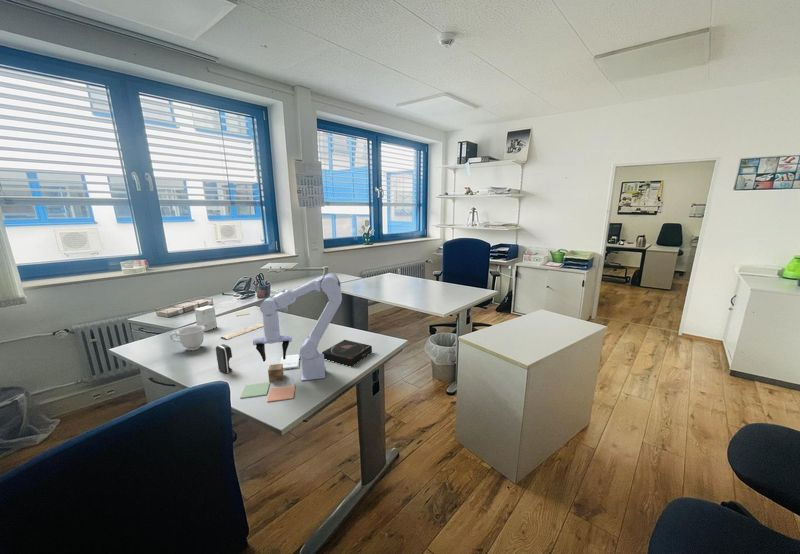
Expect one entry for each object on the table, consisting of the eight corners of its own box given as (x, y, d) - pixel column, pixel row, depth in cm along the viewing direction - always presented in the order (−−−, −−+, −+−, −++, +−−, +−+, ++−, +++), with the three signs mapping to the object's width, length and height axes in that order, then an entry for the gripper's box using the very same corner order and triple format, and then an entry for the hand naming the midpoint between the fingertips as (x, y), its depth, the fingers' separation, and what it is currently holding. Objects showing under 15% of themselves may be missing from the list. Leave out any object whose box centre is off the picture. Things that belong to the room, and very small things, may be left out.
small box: (210, 325, 194) (208, 305, 191) (217, 327, 191) (214, 306, 188) (197, 330, 187) (194, 308, 184) (203, 332, 184) (200, 310, 181)
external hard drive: (300, 357, 152) (298, 369, 141) (281, 359, 150) (278, 371, 139) (299, 353, 152) (298, 365, 140) (281, 355, 150) (278, 368, 138)
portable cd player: (343, 346, 163) (343, 339, 162) (371, 353, 155) (371, 345, 154) (321, 359, 149) (321, 351, 148) (351, 368, 141) (350, 359, 140)
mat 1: (270, 382, 129) (270, 381, 128) (266, 395, 120) (266, 394, 120) (245, 385, 126) (245, 384, 126) (240, 398, 118) (240, 397, 118)
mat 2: (295, 385, 126) (295, 385, 126) (293, 398, 118) (293, 397, 117) (270, 389, 124) (270, 388, 124) (267, 402, 115) (267, 401, 115)
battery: (235, 370, 139) (232, 345, 136) (226, 374, 136) (223, 349, 133) (226, 366, 143) (223, 342, 140) (218, 369, 140) (214, 345, 137)
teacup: (174, 347, 163) (171, 328, 161) (208, 341, 170) (205, 323, 168) (170, 356, 153) (167, 336, 151) (206, 350, 159) (204, 331, 157)
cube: (283, 374, 135) (282, 363, 134) (282, 380, 131) (281, 369, 130) (271, 375, 134) (269, 364, 133) (269, 382, 129) (268, 370, 128)
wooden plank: (227, 341, 172) (226, 338, 172) (219, 338, 176) (218, 335, 175) (264, 327, 192) (264, 324, 192) (256, 325, 196) (256, 322, 195)
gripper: (250, 333, 122) (253, 365, 125) (289, 329, 126) (292, 361, 128) (253, 326, 129) (256, 358, 132) (291, 323, 132) (293, 354, 135)
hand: (274, 359), depth 131 cm, fingers open, 7 cm apart
